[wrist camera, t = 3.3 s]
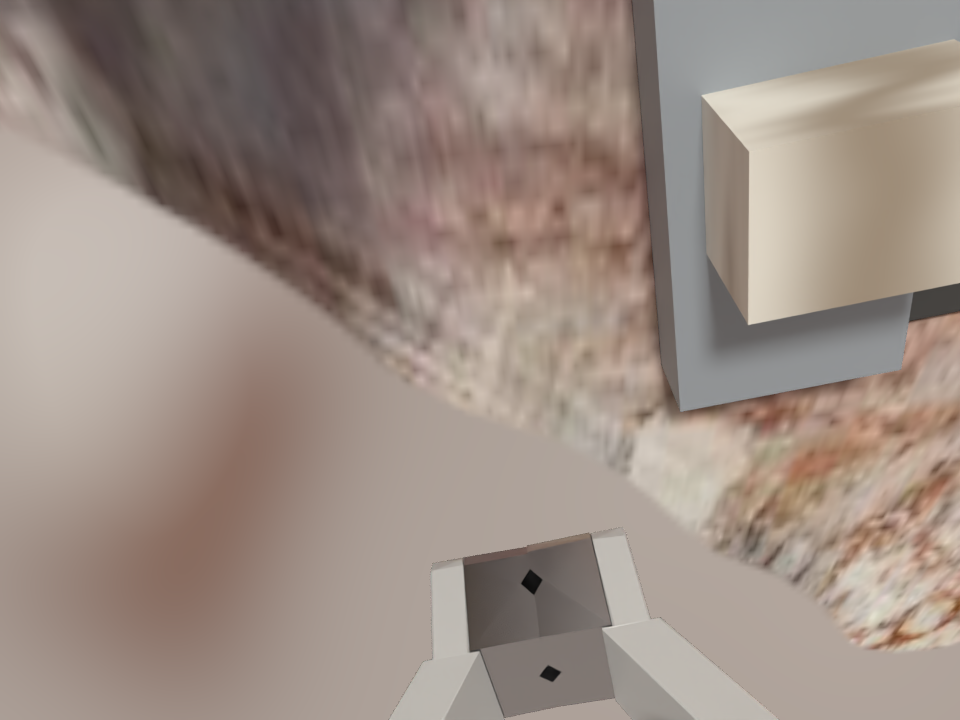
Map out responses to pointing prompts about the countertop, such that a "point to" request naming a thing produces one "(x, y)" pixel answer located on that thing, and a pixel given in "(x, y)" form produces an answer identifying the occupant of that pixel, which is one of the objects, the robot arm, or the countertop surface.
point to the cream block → (835, 183)
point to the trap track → (681, 201)
